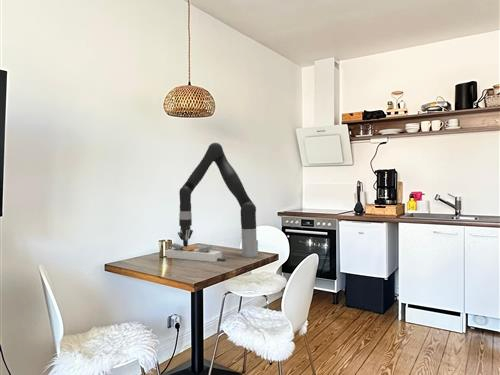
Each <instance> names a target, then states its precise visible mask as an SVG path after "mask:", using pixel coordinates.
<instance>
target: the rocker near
mask: <svg viewBox="0 0 500 375" xmlns="http://www.w3.org/2000/svg"><path fill="white" fill-rule="evenodd" d="M212 249H213V245H210V246H205V247H201V248H198V250H199V252H201V251H205V250H212Z"/></svg>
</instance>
